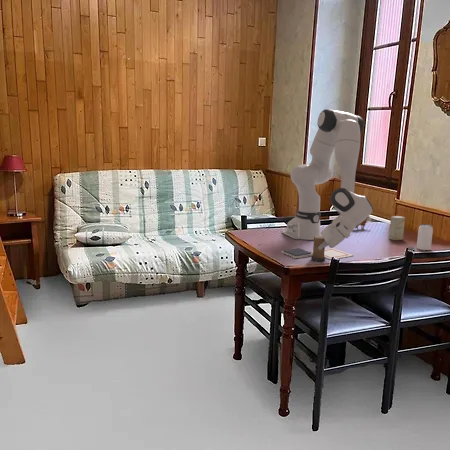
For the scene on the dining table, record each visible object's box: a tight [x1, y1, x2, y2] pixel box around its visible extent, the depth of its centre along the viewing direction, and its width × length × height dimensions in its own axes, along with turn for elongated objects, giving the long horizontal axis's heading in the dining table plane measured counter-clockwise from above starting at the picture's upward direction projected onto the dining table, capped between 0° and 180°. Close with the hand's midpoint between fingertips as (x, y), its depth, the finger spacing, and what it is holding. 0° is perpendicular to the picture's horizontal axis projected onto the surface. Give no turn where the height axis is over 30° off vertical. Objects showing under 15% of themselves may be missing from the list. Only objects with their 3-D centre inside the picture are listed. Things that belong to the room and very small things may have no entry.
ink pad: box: [281, 247, 313, 259], centre depth 218 cm, size 10×10×2 cm
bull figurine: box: [352, 215, 372, 231], centre depth 271 cm, size 4×13×8 cm, turn 116°
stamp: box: [310, 235, 326, 263], centre depth 210 cm, size 6×6×10 cm
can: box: [416, 223, 434, 251], centre depth 232 cm, size 6×6×12 cm
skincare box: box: [388, 215, 406, 241], centre depth 250 cm, size 6×4×12 cm
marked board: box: [310, 247, 354, 261], centre depth 220 cm, size 14×14×1 cm
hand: (317, 247), depth 209 cm, fingers closed on stamp, 4 cm apart
